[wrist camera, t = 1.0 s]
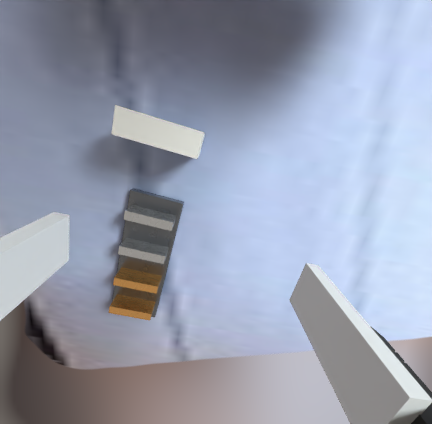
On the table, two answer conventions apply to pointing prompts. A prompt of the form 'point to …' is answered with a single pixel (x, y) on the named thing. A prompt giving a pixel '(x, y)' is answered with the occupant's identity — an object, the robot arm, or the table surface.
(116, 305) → the rack
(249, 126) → the table surface
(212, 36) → the table surface
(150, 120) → the panel
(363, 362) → the robot arm
